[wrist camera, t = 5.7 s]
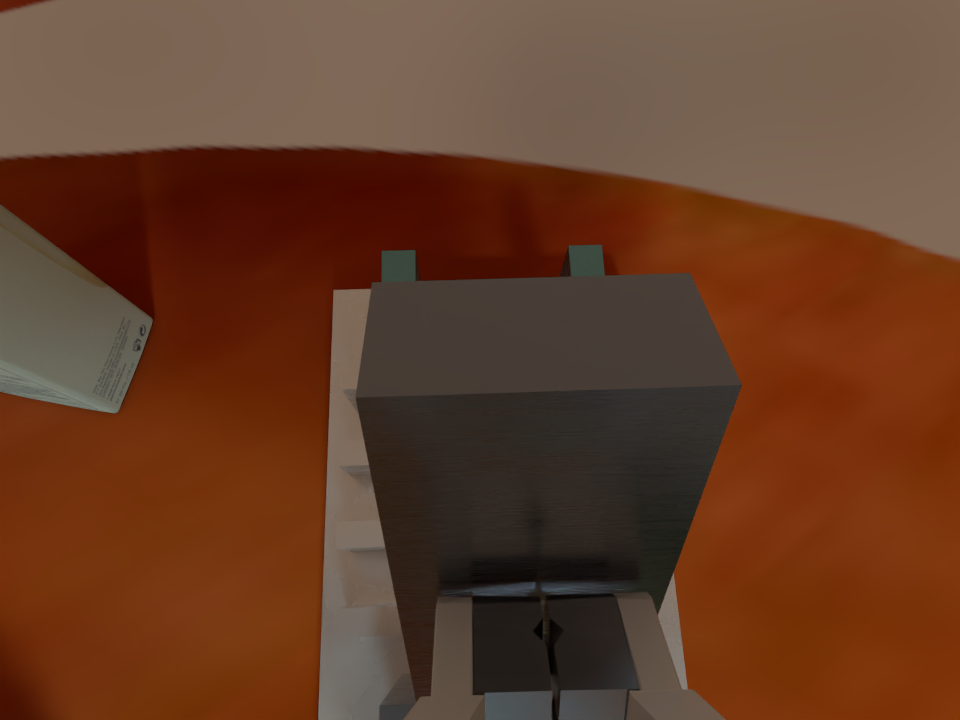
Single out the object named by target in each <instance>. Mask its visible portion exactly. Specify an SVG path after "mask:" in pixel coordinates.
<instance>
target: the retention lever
mask: <svg viewBox="0 0 960 720" xmlns="http://www.w3.org/2000/svg"><path fill="white" fill-rule="evenodd" d="M741 386H742V384H741V382H740V380H739V378H738V376H737V374H736V371H735V369H734V367H733V365H732V363H731V361H730V358H729V356H728V354H727V352H726V350H725V348H724V345H723V343H722V341H721V339H720V337H719V335H718V332H717V330H716V328H715V326H714V324H713V322H712V320H711V317H710V315H709V313H708V311H707V309H706V307H705V304H704V302H703V300H702V298H701V296H700V294H699V291H698V289H697V287H696V285H695V283H694V281H693V278H692V276H691V274H690V273H678V274H643V275H609V276H575V277H541V278H507V279H472V280H438V281H404V282H372V286H371V293H370V300H369V307H368V314H367V321H366V328H365V335H364V342H363V349H362V355H361V362H360V369H359V376H358V383H357V390H356V397H355V398H356V403H357V408H358V413H359V418H360V423H361V428H362V433H363V438H364V443H365V448H366V453H367V458H368V463H369V468H370V473H371V478H372V483H373V488H374V493H375V498H376V503H377V508H378V513H379V518H380V524H381V529H382V534H383V539H384V544H385V549H386V554H387V559H388V564H389V569H390V574H391V579H392V584H393V589H394V594H395V599H396V604H397V609H398V614H399V619H400V624H401V629H402V634H403V639H404V644H405V649H406V654H407V659H408V664H409V669H410V674H411V679H412V684H413V689H414V694H415V699H416V702H417V700H418V699H419V698H420V697H424V696H431V685H432V667H433V650H434V632H435V615H436V604H437V600H438V597H472V606H473V596H540V600H541V606H542V613H543V636H544V635H545V634H546V628H545V620H544V601H545V595H569V594H596V593H611V594H613V593H628V592H647V593H648V594H649V595H650V596H651V597H652V600H653V603H654V606H655V609H656V612H657V615H658V614H659V611H660V608H661V605H662V603H663V600H664V597H665V594H666V592H667V589H668V586H669V583H670V581H671V578H672V575H673V572H674V570H675V567H676V564H677V561H678V559H679V556H680V553H681V550H682V548H683V545H684V542H685V540H686V537H687V534H688V531H689V529H690V526H691V523H692V520H693V518H694V515H695V512H696V509H697V507H698V504H699V501H700V498H701V496H702V493H703V490H704V487H705V485H706V482H707V479H708V476H709V474H710V471H711V468H712V465H713V463H714V460H715V457H716V454H717V452H718V449H719V446H720V444H721V441H722V438H723V435H724V433H725V430H726V427H727V424H728V422H729V419H730V416H731V413H732V411H733V408H734V405H735V402H736V400H737V397H738V394H739V391H740V389H741Z"/></svg>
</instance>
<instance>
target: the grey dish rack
mask: <svg viewBox="0 0 960 720" xmlns="http://www.w3.org/2000/svg"><path fill="white" fill-rule="evenodd" d="M575 276H605V272H604V262H603V252H602V245H576V246H568V249H567V253H566V256H565V260H564V263H563V267H562V270H561V274H560V277H575ZM404 281H421V278H420V273H419V267H418V262H417V256H416V251H415V250H400V251H382V281H381V282H404ZM370 293H371V289H351V290H334V294H333V321H332V349H331V377H330V405H329V433H328V461H327V489H326V516H325V544H324V572H323V600H322V628H321V656H320V684H319V711H318V720H403V719H404V718H405V716H406V715H407V714H408V712H409V711H410V710H411V708H412V707H413V706H414V704H415V703H416V699H415V694H414V689H413V684H412V679H411V674H410V669H409V664H408V659H407V654H406V649H405V644H404V639H403V634H402V629H401V624H400V619H399V614H398V609H397V604H396V599H395V594H394V589H393V584H392V579H391V574H390V569H389V564H388V559H387V554H386V549H385V544H384V539H383V534H382V529H381V524H380V518H379V513H378V508H377V503H376V498H375V493H374V488H373V483H372V478H371V473H370V468H369V463H368V458H367V453H366V448H365V443H364V438H363V433H362V428H361V423H360V418H359V413H358V408H357V403H356V398H355V397H356V390H357V383H358V376H359V369H360V362H361V355H362V349H363V342H364V335H365V328H366V321H367V314H368V307H369V300H370ZM658 618H659V621H660V624H661V627H662V630H663V633H664V636H665V639H666V642H667V645H668V648H669V651H670V654H671V657H672V660H673V663H674V666H675V669H676V672H677V675H678V678H679V681H680V684H681V687H682V689H687V681H686V672H685V664H684V656H683V647H682V639H681V631H680V622H679V614H678V606H677V597H676V589H675V581H674V573H673V575H672V578H671V581H670V583H669V586H668V589H667V592H666V594H665V597H664V600H663V603H662V605H661V608H660V611H659V614H658Z"/></svg>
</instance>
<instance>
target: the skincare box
mask: <svg viewBox="0 0 960 720" xmlns="http://www.w3.org/2000/svg"><path fill="white" fill-rule="evenodd" d="M152 322H153V320H152V318H151V317H150V316H149V315H147V314H146V313H145V312H143V311H142V310H140V309H139V308H138V307H137V306H135V305H134V304H133V303H131V302H130V301H128V300H127V299H126V298H125V297H123V296H122V295H121V294H119V293H118V292H117V291H115V290H114V289H112V288H111V287H110V286H108V285H107V284H106V283H104V282H103V281H102V280H100V279H99V278H98V277H96V276H95V275H94V274H92V273H91V272H90V271H89V270H87V269H86V268H85V267H83V266H82V265H81V264H79V263H78V262H77V261H75V260H74V259H73V258H71V257H70V256H69V255H67V254H66V253H65V252H63V251H62V250H61V249H59V248H58V247H57V246H55V245H54V244H53V243H51V242H50V241H49V240H47V239H46V238H45V237H43V236H42V235H41V234H39V233H38V232H37V231H35V230H34V229H33V228H31V227H30V226H29V225H27V224H26V223H25V222H23V221H22V220H21V219H19V218H18V217H17V216H15V215H14V214H13V213H11V212H10V211H9V210H7V209H6V208H5V207H3V206H2V205H1V204H0V392H4V393H9V394H13V395H18V396H22V397H27V398H32V399H37V400H42V401H47V402H53V403H58V404H63V405H68V406H74V407H79V408H85V409H91V410H98V411H104V412H110V413H116V412H118V411H119V409H120V407H121V404H122V401H123V399H124V397H125V394H126V392H127V390H128V387H129V385H130V382H131V380H132V378H133V375H134V372H135V370H136V367H137V365H138V362H139V360H140V357H141V355H142V352H143V349H144V346H145V343H146V340H147V338H148V335H149V331H150V329H151V326H152Z"/></svg>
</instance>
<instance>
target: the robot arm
mask: <svg viewBox="0 0 960 720" xmlns="http://www.w3.org/2000/svg"><path fill="white" fill-rule="evenodd" d="M544 620H545V628H546V634H545V635H544V636H543V613H542V606H541V600H540V596H473V606H472V597H438V600H437V604H436V615H435V632H434V650H433V667H432V685H431V696H424V697H420V698H419V699H418V700H417V702H416V703H415V704H414V706H413V707H412V708H411V710H410V711H409V712H408V714H407V715H406V716H405V718H404V719H403V720H726V719H725V718H724V717H723V716H721V715H720V714H719V713H718V712H717V711H716V710H715V709H714V708H713V707H712V706H711V705H709V704H708V703H707V702H706V701H705V700H704V699H703V698H702V697H701V696H700V695H699V694H697V693H696V692H695V691H694V690H690V689H682V687H681V684H680V681H679V678H678V675H677V672H676V669H675V666H674V663H673V660H672V657H671V654H670V651H669V648H668V645H667V642H666V639H665V636H664V633H663V630H662V627H661V624H660V621H659V618H658V615H657V612H656V609H655V606H654V603H653V600H652V597H651V596H650V595H649V594H648V593H647V592H628V593H613V594H611V593H596V594H569V595H545V601H544Z"/></svg>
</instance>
